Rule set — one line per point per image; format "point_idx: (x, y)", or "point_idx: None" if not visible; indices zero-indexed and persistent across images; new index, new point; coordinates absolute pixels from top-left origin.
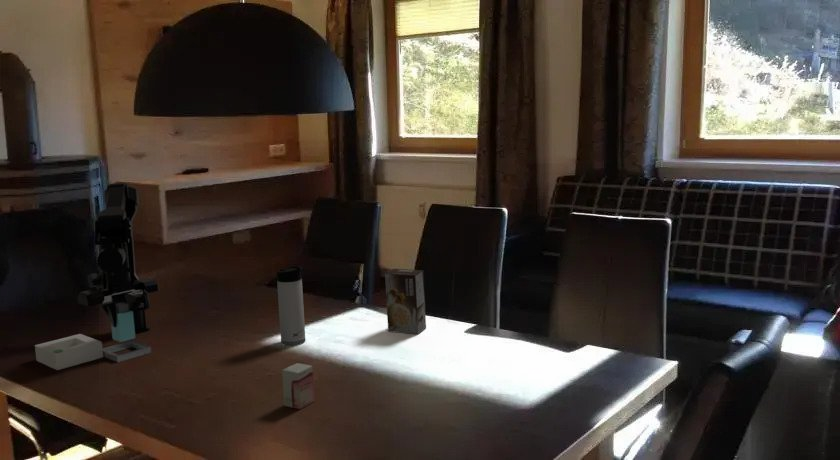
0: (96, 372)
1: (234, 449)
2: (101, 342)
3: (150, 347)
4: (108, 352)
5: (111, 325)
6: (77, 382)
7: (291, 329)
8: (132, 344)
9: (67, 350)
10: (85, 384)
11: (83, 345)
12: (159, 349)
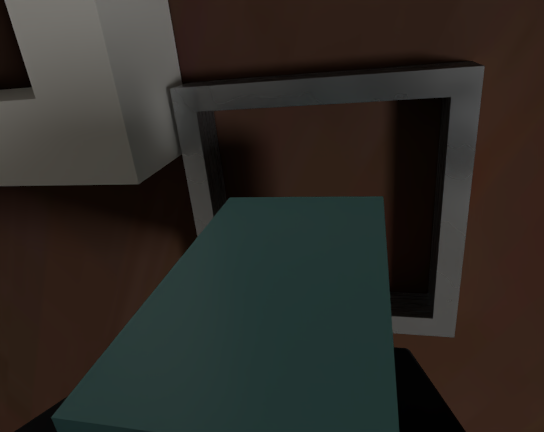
0: (105, 333)
1: None
2: (139, 182)
3: (451, 333)
4: (198, 213)
5: (173, 276)
6: (25, 365)
7: None
8: (445, 110)
9: None
10: (49, 403)
11: (5, 154)
12: (526, 300)
